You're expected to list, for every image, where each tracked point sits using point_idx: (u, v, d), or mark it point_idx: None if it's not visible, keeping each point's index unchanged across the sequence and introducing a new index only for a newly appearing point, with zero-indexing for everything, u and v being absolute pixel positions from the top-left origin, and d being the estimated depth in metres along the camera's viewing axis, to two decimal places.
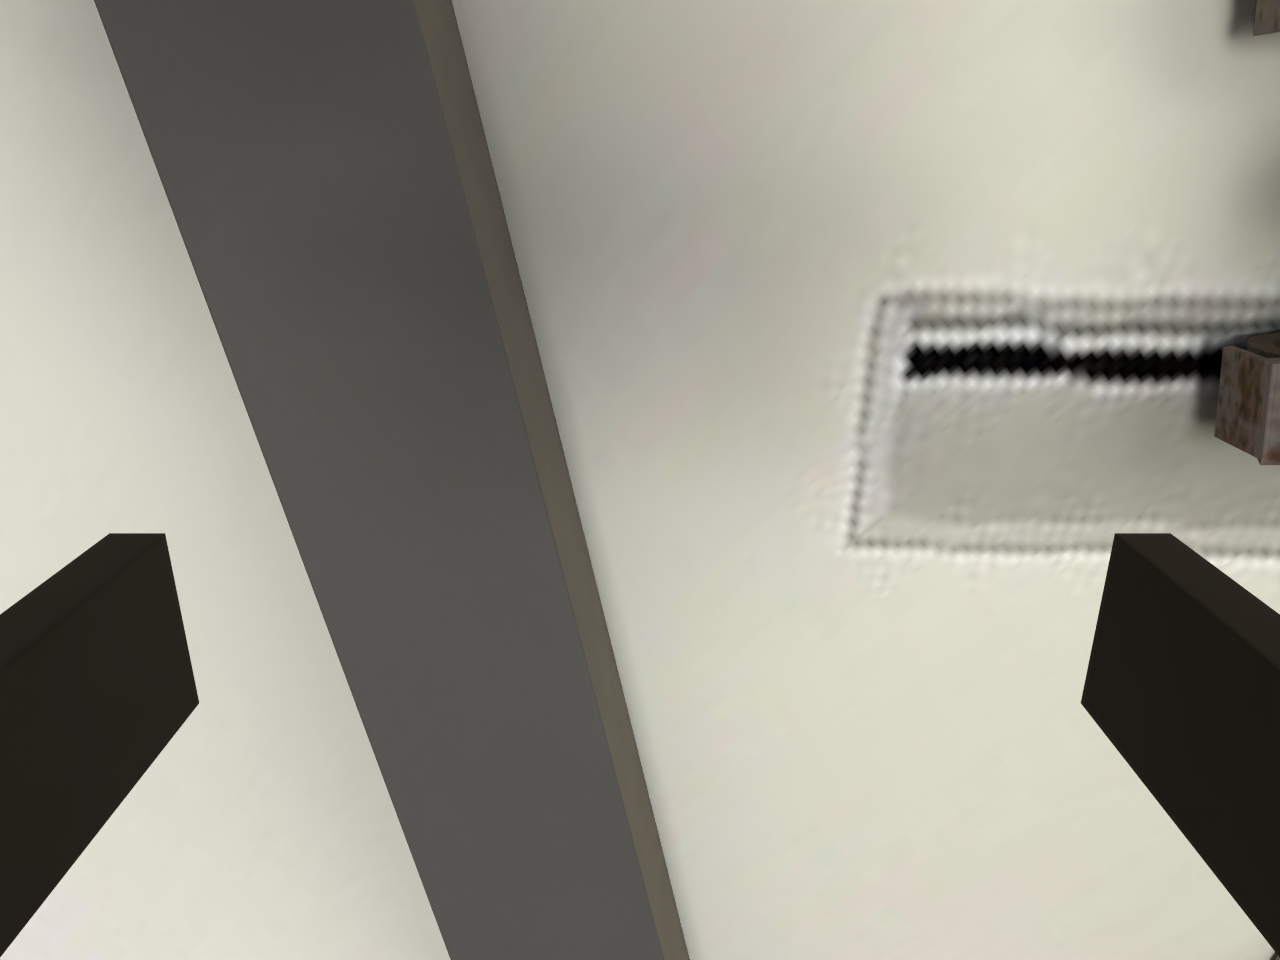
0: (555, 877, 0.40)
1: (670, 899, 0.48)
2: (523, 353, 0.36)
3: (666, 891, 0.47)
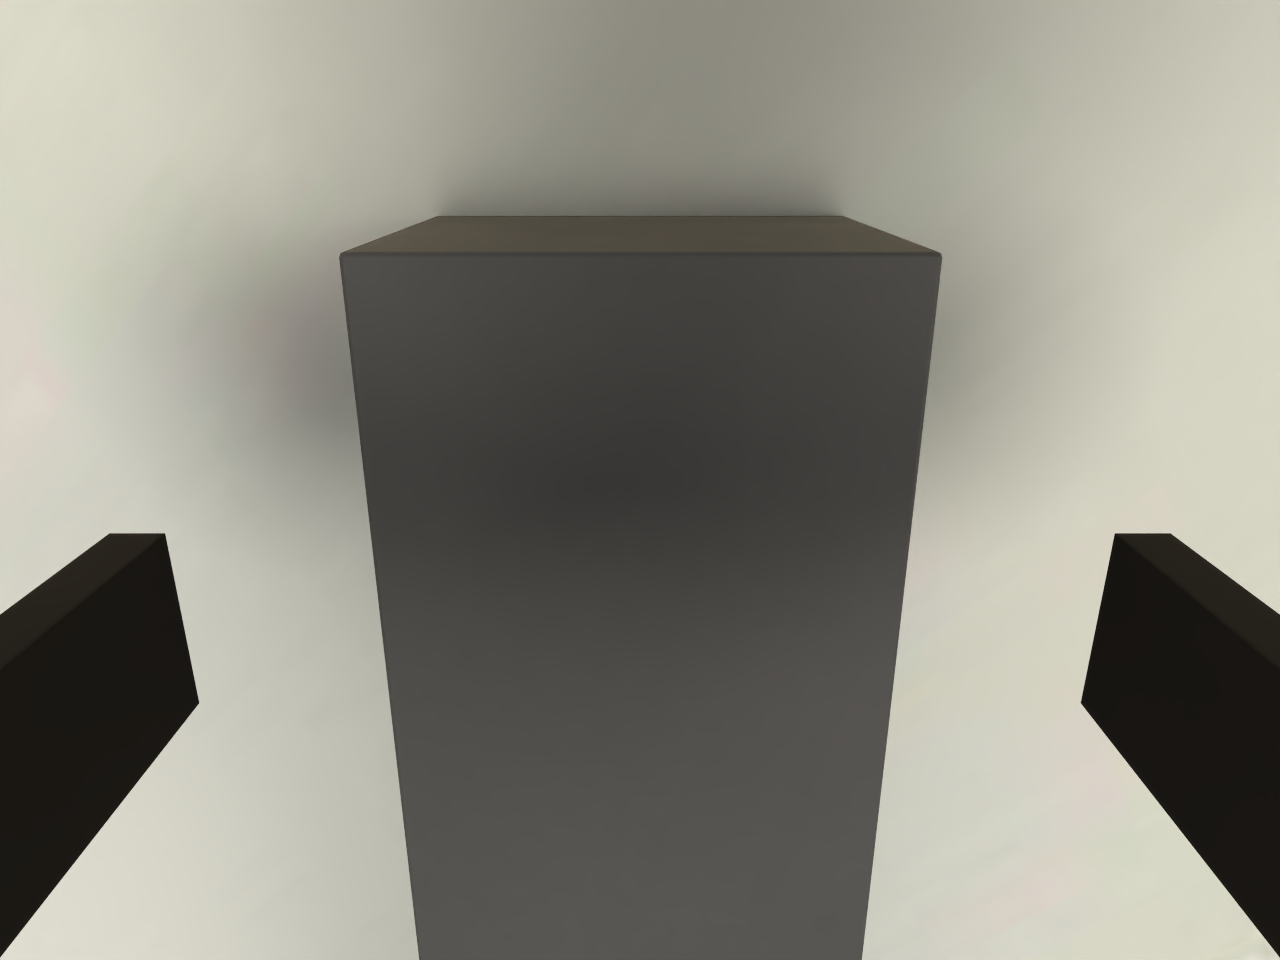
0: None
1: None
2: None
3: None
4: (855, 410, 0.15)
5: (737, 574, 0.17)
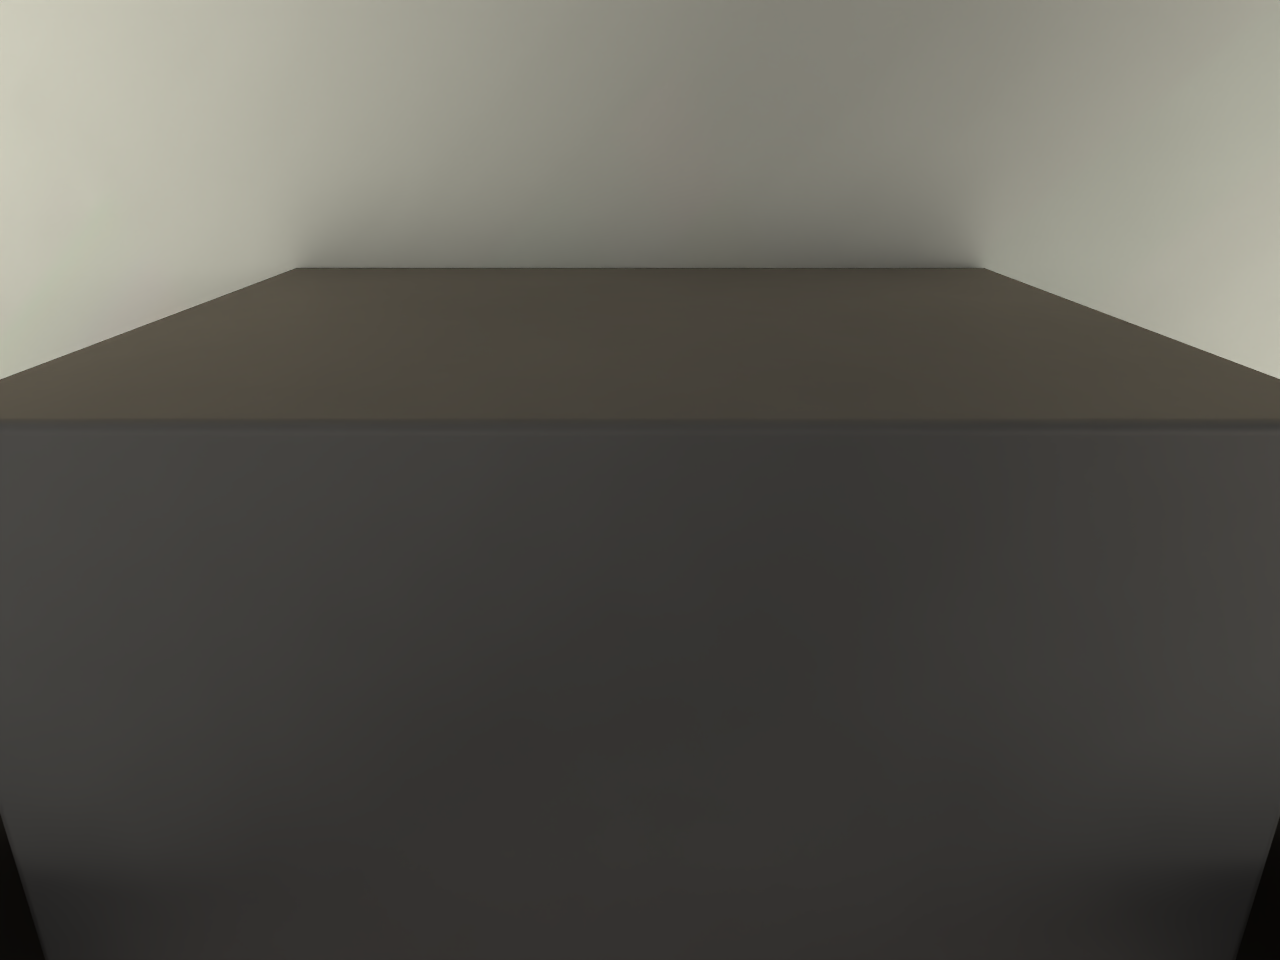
0: None
1: None
2: None
3: None
4: (1139, 764, 0.07)
5: None
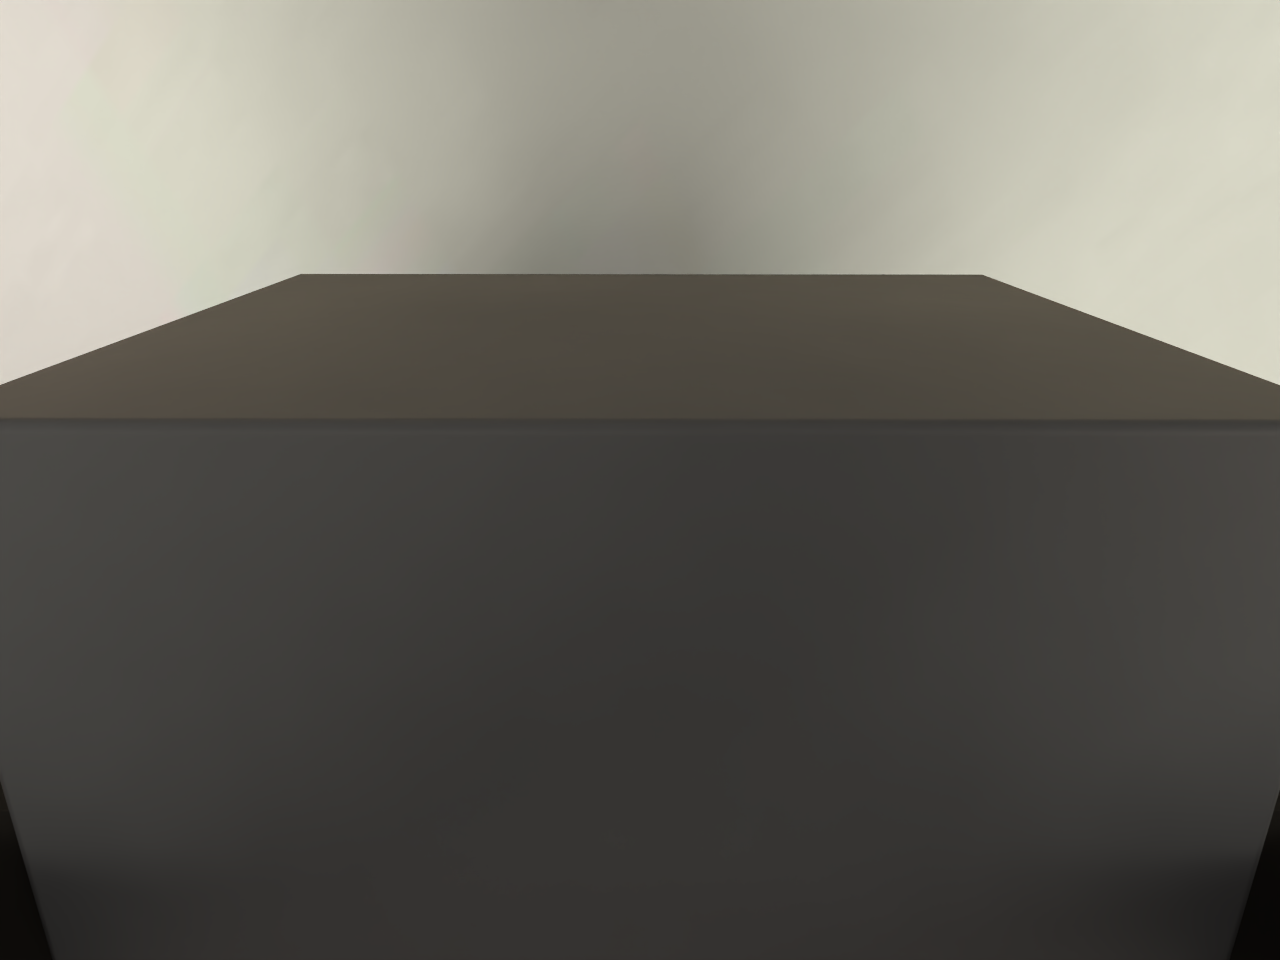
0: None
1: None
2: None
3: None
4: (1133, 761, 0.07)
5: None
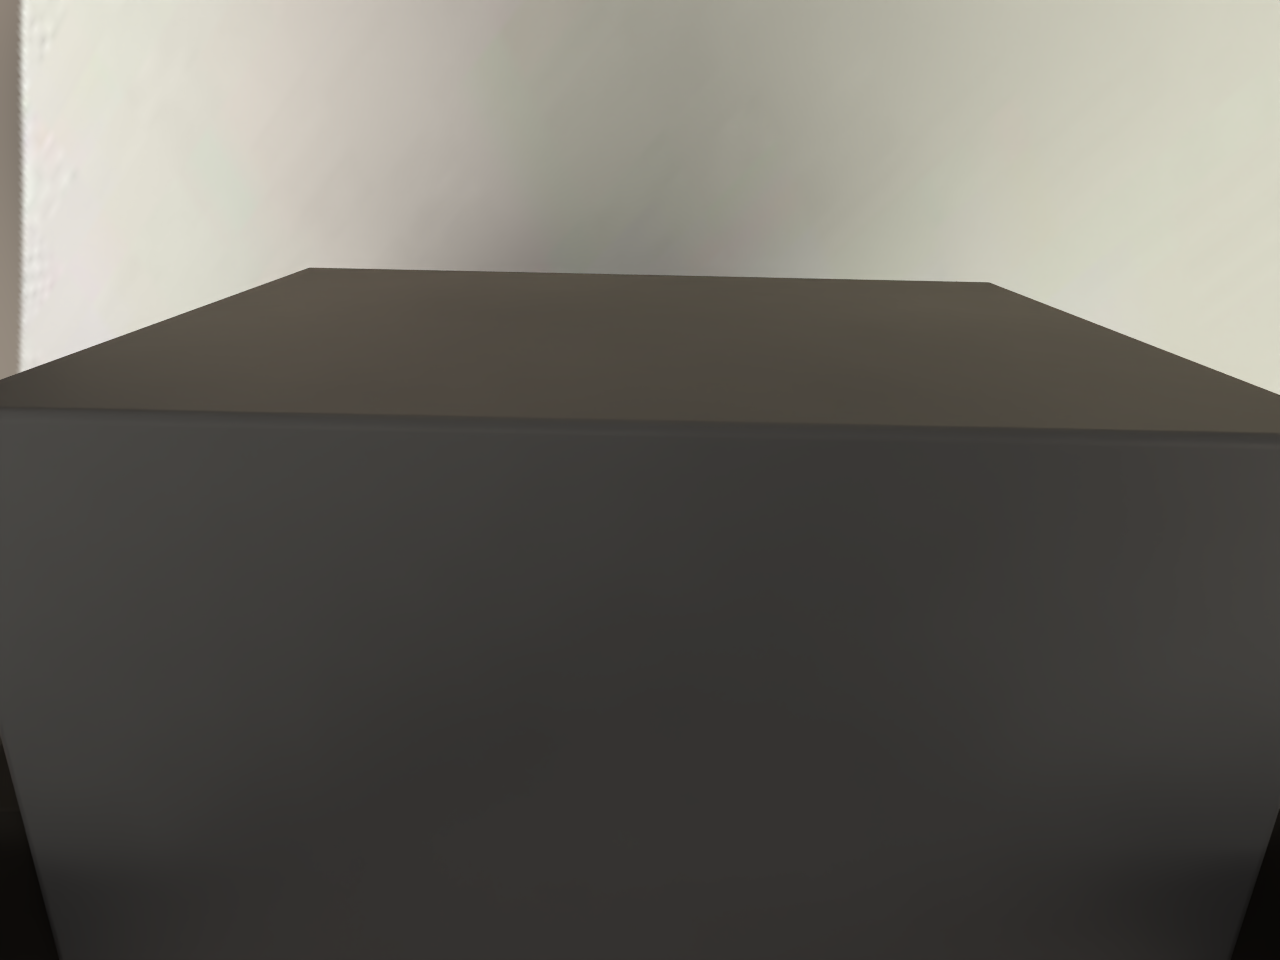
0: None
1: None
2: None
3: None
4: (1137, 768, 0.07)
5: None
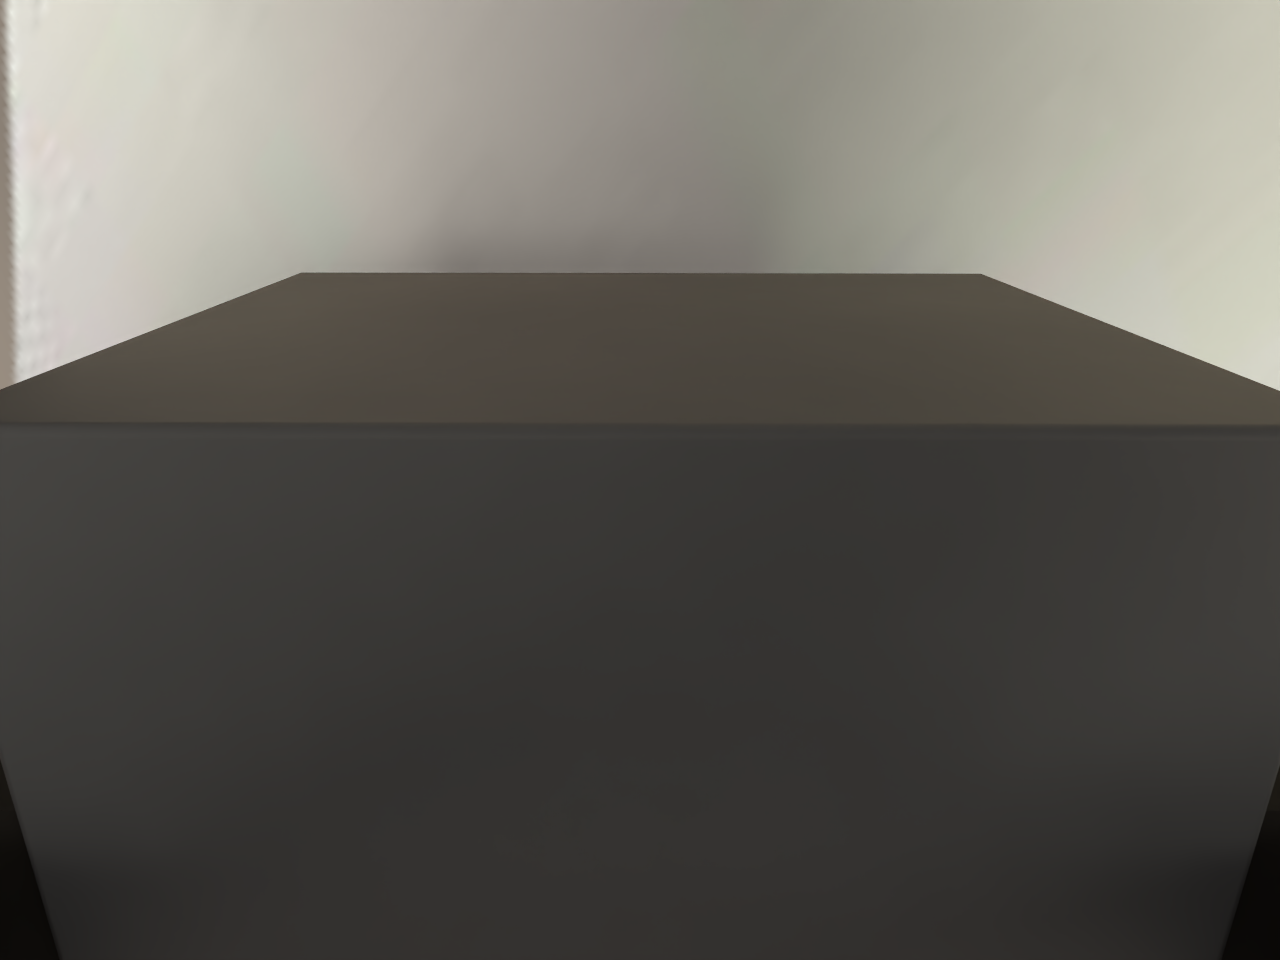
0: None
1: None
2: None
3: None
4: (1127, 761, 0.07)
5: None
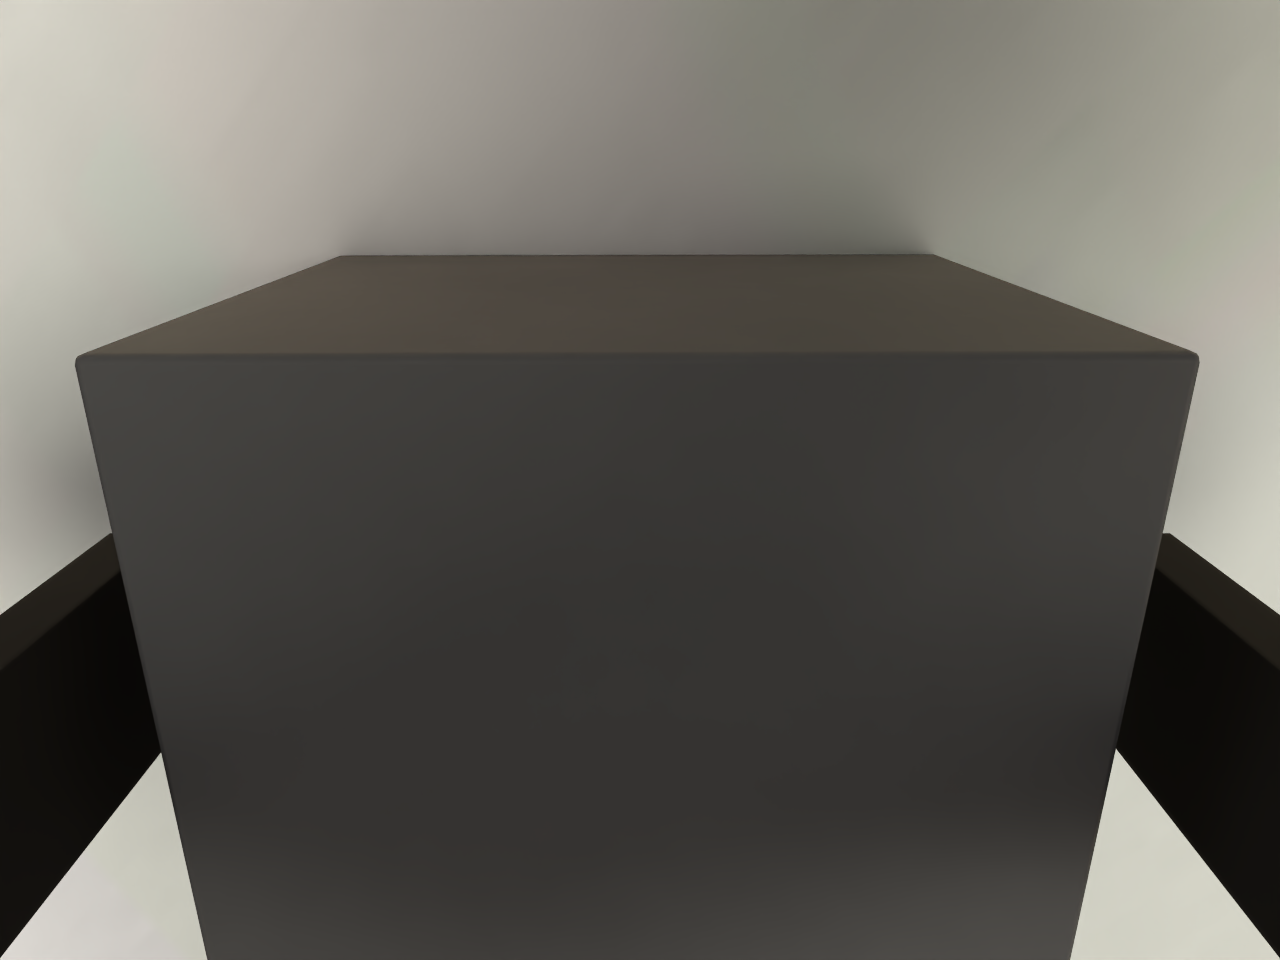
0: None
1: None
2: None
3: None
4: (1022, 623, 0.09)
5: (803, 879, 0.10)
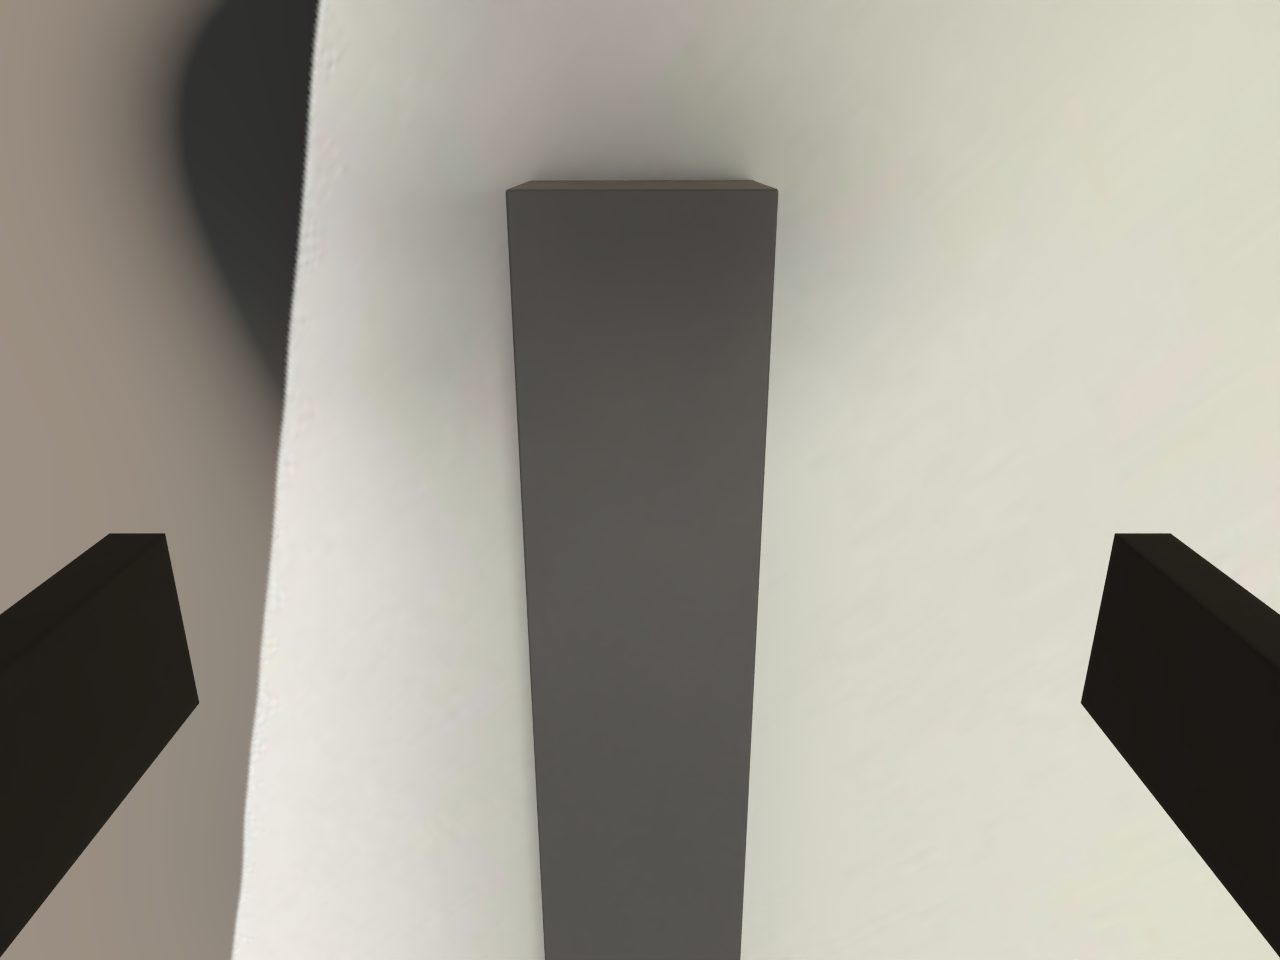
0: None
1: None
2: None
3: None
4: (742, 264, 0.33)
5: (688, 348, 0.34)
